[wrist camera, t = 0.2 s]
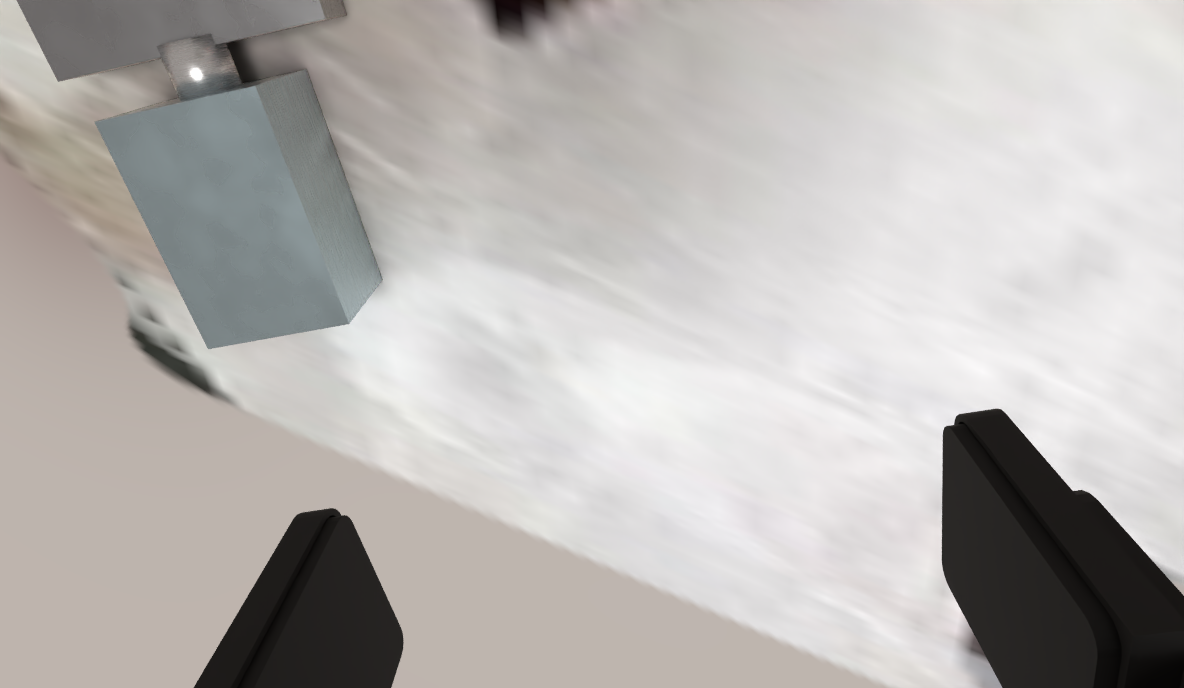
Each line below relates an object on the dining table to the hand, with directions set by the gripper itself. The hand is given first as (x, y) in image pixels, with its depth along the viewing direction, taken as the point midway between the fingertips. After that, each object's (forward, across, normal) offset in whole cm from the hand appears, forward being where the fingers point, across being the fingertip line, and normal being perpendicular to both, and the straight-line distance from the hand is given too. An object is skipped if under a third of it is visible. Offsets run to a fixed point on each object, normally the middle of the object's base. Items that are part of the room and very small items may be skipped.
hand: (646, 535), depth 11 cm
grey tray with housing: (+31, +20, -9) cm, 38 cm away
